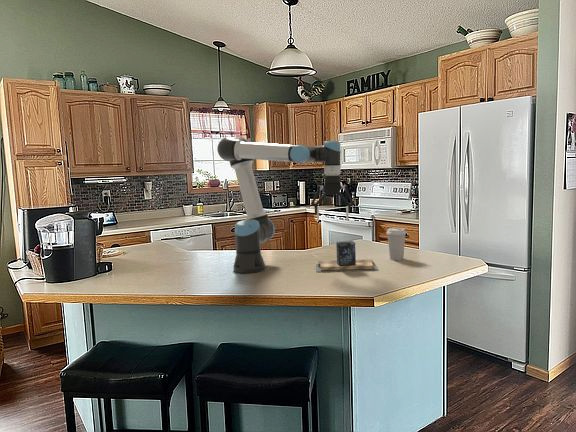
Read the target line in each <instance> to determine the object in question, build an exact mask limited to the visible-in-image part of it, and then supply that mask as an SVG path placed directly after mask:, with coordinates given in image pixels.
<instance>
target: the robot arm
mask: <svg viewBox="0 0 576 432" xmlns="http://www.w3.org/2000/svg"><path fill="white" fill-rule="evenodd" d="M216 148H217V153H218V155H219V157H220V158H221V159H222V160H223V161H226V162H229V164H230V168H232V169H234V171H235V172H234V173H235V175H236V179H237V180H236V181H237V183H238V186H239V192H240V194H241V197H242V202H243V206H244V209H245V213H246V218H245V219H243V220H239V221H237V222H236V223H235V225H234V236H235V238H234V240H235V251H236V252H235V255H236V256H235V259H234V263H233V266H232V267H233V272H234V273H239V274H253V273H254V274H255V273H260V272H263V271H264V270H265V269H266V263H265V261H264V258H263V256H262V252H261V251H262V249H261V244H263V243H267V242H268V241H269V240H271V239H272V238H273V237H274V235H275V231H276V228H275V224H274V222H273V221H272V220H271V219H270V218H269V215H268V213H267V212H265V211H264V207H263V203H262V201H261V200H262V199H261V196H260V193H259V189H258V185H257V181H256V178H255V175H254V170H253V167H252V164H253V163H254V160H260V161H262V160H263V161H274V162H290V163H296V164H305V163H323V167H324V168H323V170H324V171H323V174H324V176H323V177H324V181H323V182H324V183H323V184H324V185H320V184H318V185H317V190H316V192H315V194H314V196H313V198H312V199H311V202H310V206H311V207H314V214H315V215H316V216H317V217H316V221H317V222H319V221H320V206H319V204H320V203H321V202H322V201H323V200H324V198H325V197H326V196H327V195H328V196H337V195H338V196H339V197H340V198H341V200H342V201H343V202H344V203H345V204H346V207H345V209H346V212H345V214H346V216H345V218H346V222H348V221H349V214H351V209H352V206H355V205H356V204H355V201H354V199H353V198H352V195H351V194H350V193H351V192H350V191H349V187H348V185H346V184H345V185H341V184H342V183H341V180H342V179H341V178H342V177H341V175H340V174H341V171H342V170H341V166H342V165H341V158H342V157H341V154H342V153H341V152H342V150H341V143H340V141H338V140H327V141H325V140H324V143H323V145H304V144H296V145H295V144H293V145H292V144H284V143H282V144H281V143H280V144H279V143H265V142H251V141H250V140H249V139H248V138H244V137H239V136H238V137H235V136H234V137H232V136H225V137H224V138H222V139H221V140H220V141H218V144H217V147H216ZM341 189H342V190H343V191H345V193H346V195H347V197H348V199H349V200H348V199H347V198H346V197H345V196H344V195H343V194H342V193H341V192H340V191H341ZM322 190H324V191H325V192H323V194H322V195H321V196H320V198H319V199H318V200H317V198H318V196H319V194H320V192H321V191H322ZM316 200H317V201H316ZM349 201H350V202H349Z"/></svg>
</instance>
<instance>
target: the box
mask: <svg viewBox="0 0 576 432" xmlns="http://www.w3.org/2000/svg"><path fill="white" fill-rule="evenodd" d="M336 260H337V264H338V265H339V266H345V265H356V260H357V259H356V242H354V241H352V240H349V241H347V240H346V241H336Z"/></svg>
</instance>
